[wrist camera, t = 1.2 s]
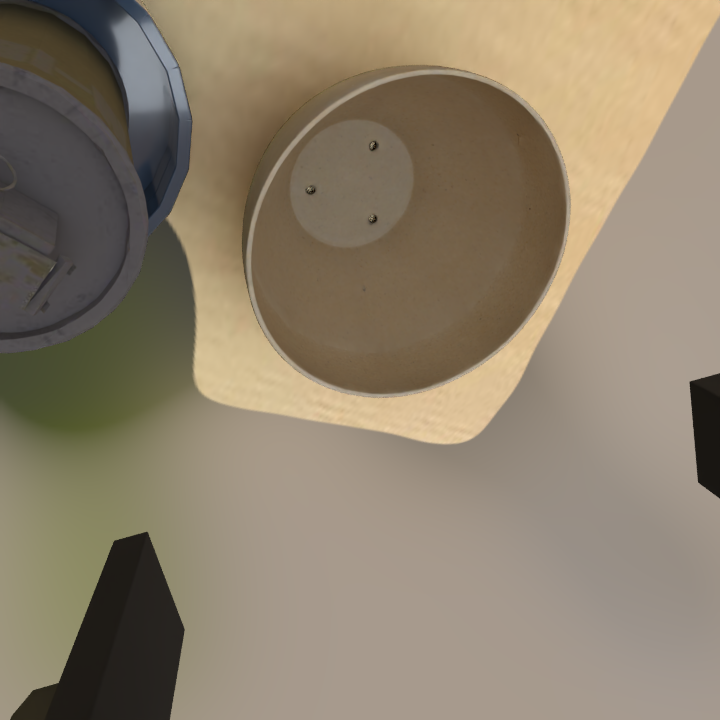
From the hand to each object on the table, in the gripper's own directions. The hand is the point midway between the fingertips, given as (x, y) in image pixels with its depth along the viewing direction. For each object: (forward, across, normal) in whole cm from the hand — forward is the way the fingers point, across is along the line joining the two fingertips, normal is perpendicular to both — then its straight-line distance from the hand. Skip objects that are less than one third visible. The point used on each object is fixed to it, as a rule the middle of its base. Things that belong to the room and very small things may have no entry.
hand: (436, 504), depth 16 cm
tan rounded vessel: (+32, +3, +6) cm, 33 cm away
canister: (+27, -14, +14) cm, 34 cm away
